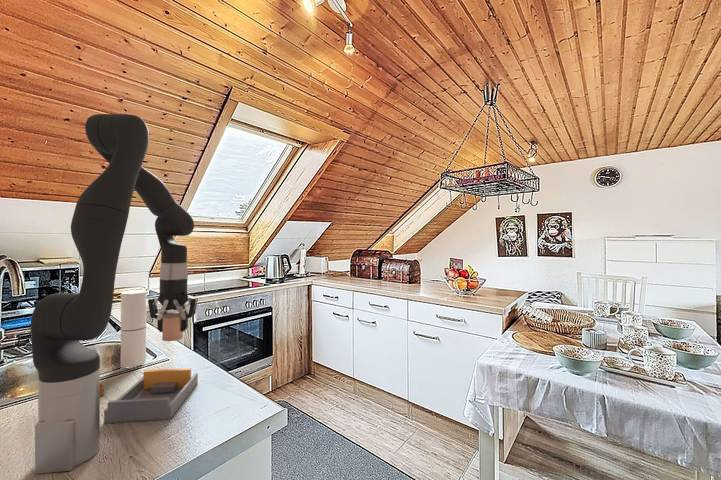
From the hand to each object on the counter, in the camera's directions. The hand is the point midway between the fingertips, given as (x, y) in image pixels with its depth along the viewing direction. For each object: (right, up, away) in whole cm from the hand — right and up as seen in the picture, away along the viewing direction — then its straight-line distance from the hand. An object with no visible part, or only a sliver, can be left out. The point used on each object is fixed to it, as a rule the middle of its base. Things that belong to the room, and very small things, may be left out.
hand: (172, 330), depth 101 cm
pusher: (+2, -15, -8) cm, 17 cm away
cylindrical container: (-20, -15, +10) cm, 27 cm away
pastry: (-18, -15, -10) cm, 26 cm away
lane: (+3, -15, -14) cm, 21 cm away
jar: (0, -2, 0) cm, 2 cm away
